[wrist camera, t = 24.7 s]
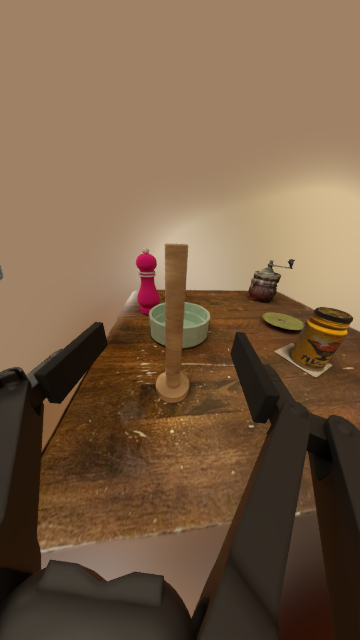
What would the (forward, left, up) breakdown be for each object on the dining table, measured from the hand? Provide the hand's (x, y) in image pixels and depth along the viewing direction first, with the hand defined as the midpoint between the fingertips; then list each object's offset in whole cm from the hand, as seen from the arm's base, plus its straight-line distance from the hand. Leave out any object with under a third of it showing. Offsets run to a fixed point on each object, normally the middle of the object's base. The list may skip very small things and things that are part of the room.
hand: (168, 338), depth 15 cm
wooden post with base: (-2, +4, -14) cm, 14 cm away
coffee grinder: (+4, +64, -14) cm, 66 cm away
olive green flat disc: (+12, +42, -14) cm, 46 cm away
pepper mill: (-27, +24, -14) cm, 39 cm away
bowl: (-11, +19, -14) cm, 26 cm away
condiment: (+17, +27, -14) cm, 35 cm away
